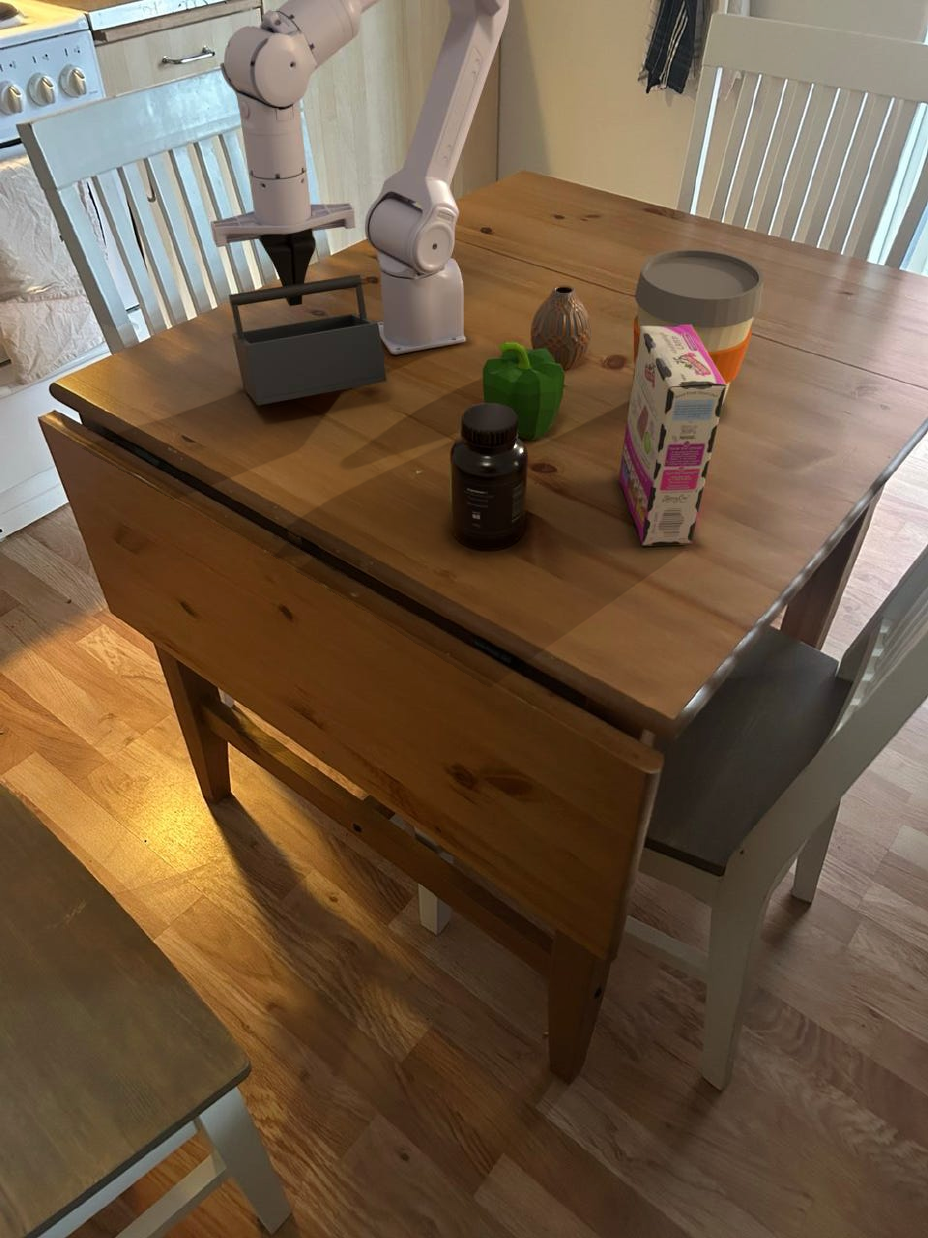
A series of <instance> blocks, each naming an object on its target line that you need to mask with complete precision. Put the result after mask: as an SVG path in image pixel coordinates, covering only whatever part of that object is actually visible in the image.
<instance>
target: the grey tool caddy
mask: <svg viewBox="0 0 928 1238" xmlns="http://www.w3.org/2000/svg"><path fill="white" fill-rule="evenodd" d="M362 281H363V280H362V277H361V275H360V274H354V275H353V274H352V275H346V276H341V277H333V278H327V279H321V280H315V281H310V282H309V281H308V282H304V283H301V284H295V285H288V286H282V285H281V286H276V287H269V288H263V289H257V290H249V291H243V292H237V293H231V294H229V295H228V300H229V303H230V308H231V313H232V318H233V322H234V327H235V332H233V333H232V334H231V335H232V336H231V337H232V340H233V345H234V349H235V354H236V359H237V364H238V368H239V373H240V377H241V382H242V386H243V389H244V391H245V392H246V393H247V394H248V395H249V397H250V399H252V400H253V401H254V403H255V404H256V405H257V406H262V405H267V404H268V405H269V404H273V403H278V402H285V401H289V400H294V399H300V398H305V397H309V396H315V395H321V394H326V393H332V392H337V391H342V390H348V389H352V388H359V387H363V386H364V387H365V386H369V385H375V384H379V383H384V382H387V381H388V379H387V374H386V368H385V360H384V354H383V346H382V345H383V344H382V340H381V338H380V332H379V325H378V323H379V322H377V321H374V320H371V319H369V318H368V316H367V310H366V302H365V297H364V296H365V295H364V289H363V282H362ZM346 289H355V295H356V296H355V297H356V303H357V308H358V313H355V312H353V313H347V314H342V315H341V314H340V315H336V316H328V317H323V318H316V319H310V320H305V321H299V322H293V323H287V324H281V325H280V324H279V325H275V326H268V327H262V328H257V329H256V328H255V329H250V330H244V329H243V324H242V320H241V315H240V310H239V306H245V305H251V304H257V303H264V302H269V301H270V302H272V301H277V300H284V299H286V298H290V297H296V296H302V297H303V296H309V295H315V294H320V293H327V292H334V291H341V290H346Z"/></svg>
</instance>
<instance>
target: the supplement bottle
mask: <svg viewBox="0 0 928 1238" xmlns="http://www.w3.org/2000/svg"><path fill="white" fill-rule="evenodd" d="M460 421H461V423H460V424H461V427H460V436H459V437H458V438H457V439H456V440H455V441H454V443H453V444H452V446H451V448H450V451H449V504H450V506H449V508H450V509H449V511H450V512H449V513H450V517H449V518H450V529H451V532H452V534H453V536H454V537H455V538H456V540H458V542H460V543H461V544H463V545H464V546H466V547H468V548H471V549H475V550H480V551H497V550H502V549H504V548H507V547H509V546H512V545H513V544H515V543H516V542H517V541H519V539H520V538H521V536H522V534H523V532H524V530H525V529H524V528H525V520H526V519H525V518H526V502H527V501H526V500H527V483H528V465H529V453H528V450H527V447H526V445H525V444H524V442H523V440H522V439H520V437H519V436H518V417H517V415H516V412H514V410H512V409H511V408H510V407H507V406H505V405H502V404H497V403H485V402H483V403H478V404H473V405H471V406H470V407H467V408H466V410H464V411H463V412H462V414H461V420H460Z"/></svg>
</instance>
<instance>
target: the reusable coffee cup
mask: <svg viewBox="0 0 928 1238" xmlns="http://www.w3.org/2000/svg"><path fill="white" fill-rule="evenodd" d="M763 287H764V275H763V273H762V271H761V270H760V268H758V266H756V264H753V263H752V262H750V261H749V260H747V259H745V258H742V257H740V256H737V255H734V254H732V253H726V252H723V251H718V250H712V249H702V248H701V249H700V248H683V249H682V248H681V249H673V250H667V251H663V252H659V253H656V254H654V255H652V256H650V257H648V258H647V259H646V260H644V262H643V263H642V265H641V269H640V272H639V276H638V281H637V284H636V288H635V294H634V299H635V302H636V303H637V315H636V316H635V318H634V320H633V321H634V322H633V363H634V366H635V365H636V358H637V353H638V344H639V338H640V327H641V326H660V325H692V327H693V328H694V330H695V332H696V333H697V335H698V337H699V339H700V340H701V342H702V344H703V346H704V347H705V349H706V351H707V352H708V354H709V356H710V357H711V359H712V361H713V363H714V364H715V366H716V368H717V369H718V371H719V373H720V374H721V376H722V378H723V379H724V381H725V383H726V385H727V386H726V389H725V394H724V399H723V403H722V405H724V402H725V399H726V396H727V393H728V390H729V388H730V384H731V382H733V381H734V380H735V379H736V378H737V376H738V373H739V371H740V369H741V367H742V363H743V360H744V358H745V355H746V352H747V350H748V347H749V344H750V341H751V338H752V334H753V331H752V328H751V327H752V323H753V321H754V318H755V316H756V315H758V314H759V312H760V310H761V306H762V297H763Z"/></svg>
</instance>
